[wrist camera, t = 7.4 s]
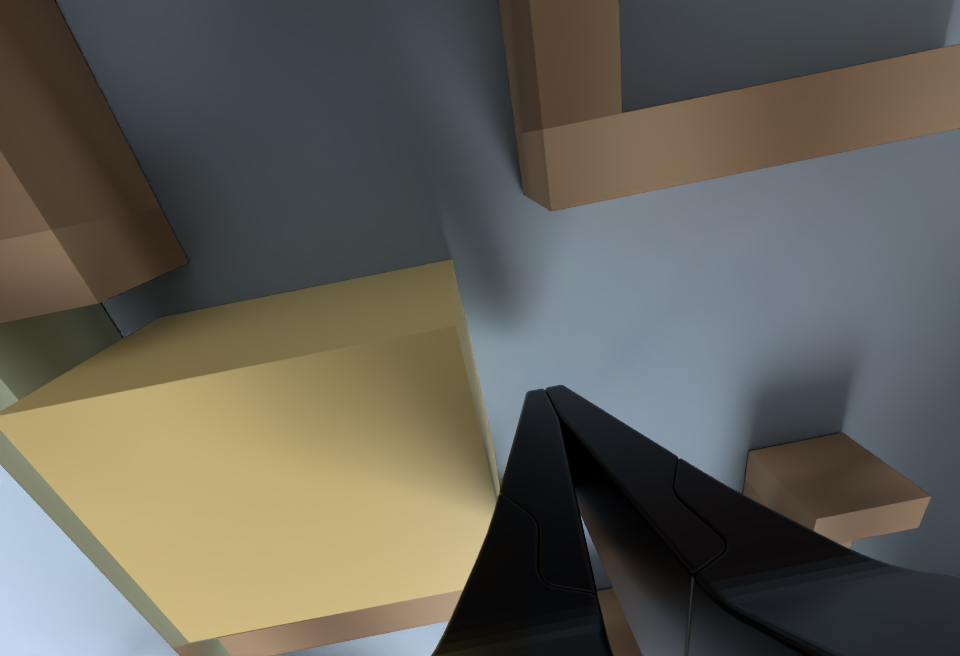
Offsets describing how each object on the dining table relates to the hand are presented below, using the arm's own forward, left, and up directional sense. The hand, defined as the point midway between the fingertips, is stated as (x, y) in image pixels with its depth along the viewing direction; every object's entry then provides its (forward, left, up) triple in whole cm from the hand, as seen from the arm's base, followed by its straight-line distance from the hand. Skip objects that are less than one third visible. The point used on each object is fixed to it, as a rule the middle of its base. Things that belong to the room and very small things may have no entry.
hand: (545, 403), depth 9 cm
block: (+5, 0, -2) cm, 5 cm away
